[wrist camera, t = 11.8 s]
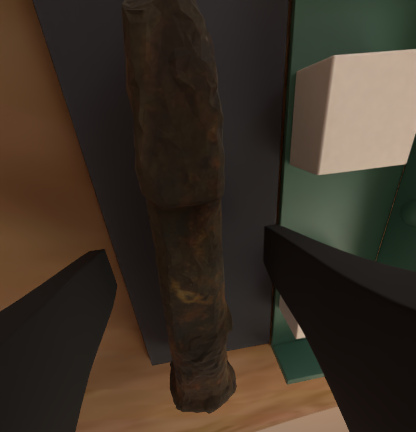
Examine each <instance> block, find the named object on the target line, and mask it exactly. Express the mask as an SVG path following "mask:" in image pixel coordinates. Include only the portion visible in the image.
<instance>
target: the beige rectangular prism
mask: <svg viewBox="0 0 416 432" xmlns="http://www.w3.org/2000/svg"><path fill="white" fill-rule="evenodd" d="M415 134H416V49H409V50H396V51H382V52H369V53H356V54H342V55H333V56H331V57H329V58H326V59H324V60H322V61H319V62H317V63H315V64H312V65H310V66H308V67H305V68H303V69H301V70H299V71H297V73H296V84H295V98H294V111H293V125H292V138H291V151H290V165H292V166H294V167H297V168H300V169H302V170H305V171H308V172H310V173H313V174H316V175H325V174H333V173H341V172H349V171H357V170H364V169H372V168H380V167H388V166H396V165H404V164H406V163H407V160H408V156H409V153H410V150H411V147H412V143H413V140H414V137H415Z"/></svg>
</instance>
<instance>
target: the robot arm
mask: <svg viewBox="0 0 416 432" xmlns="http://www.w3.org/2000/svg"><path fill="white" fill-rule="evenodd" d="M263 263H264V265H265V268H266V270H267V272H268V274H269V276H270V279H271V281H272V282H273V284H274V286H275V287H276V289H277V291H278V292H279V294H280V296H281V297H282V299H283V300H284V302H285V304H286V305H287V307H288V308H289V310H290V312H291V313H292V315H293V316H294V318H295V320H296V321H297V323H298V324H299V326H300V328H301V330H302V331H303V333H304V335H305V337H306V339H307V341H308V343H309V345H310V347H311V349H312V351H313V353H314V355H315V357H316V359H317V361H318V363H319V366H320V368H321V370H322V372H323V374H324V376H325V378H326V380H327V382H328V385H329V387H330V389H331V391H332V393H333V396H334V398H335V400H336V402H337V405H338V407H339V409H340V411H341V413H342V416H343V418H344V420H345V422H346V425H347V427H348V429H349V432H416V272H415V271H411V270H407V269H402V268H398V267H394V266H390V265H387V264H383V263H379V262H376V261H373V260H369V259H366V258H363V257H360V256H356V255H353V254H350V253H347V252H345V251H342V250H339V249H337V248H334V247H331V246H329V245H326V244H324V243H321V242H319V241H316V240H314V239H312V238H309V237H307V236H305V235H302V234H300V233H298V232H295V231H293V230H291V229H288V228H286V227H283V226H281V225H277V224H276V225H269V226H264V252H263ZM116 289H117V283H116V280H115V277H114V274H113V272H112V269H111V266H110V263H109V260H108V257H107V254H106V252H105V249H101V250H94V251H89V252H88V253H86V254H84V255H83V256H81V257H80V258H78V259H77V260H75V261H74V262H72V263H71V264H70V265H68V266H67V267H65V268H64V269H63V270H61V271H60V272H58V273H57V274H56V275H54V276H53V277H51V278H50V279H49V280H47V281H46V282H44V283H43V284H41V285H40V286H38V287H37V288H36V289H34V290H33V291H31V292H30V293H28V294H27V295H25V296H24V297H22V298H21V299H19V300H18V301H16V302H15V303H13V304H12V305H10V306H8V307H7V308H5V309H4V310H2V311H0V432H75V431H76V426H77V422H78V418H79V413H80V409H81V405H82V401H83V397H84V393H85V389H86V386H87V382H88V378H89V374H90V371H91V368H92V365H93V362H94V359H95V356H96V353H97V350H98V348H99V345H100V342H101V339H102V336H103V334H104V331H105V328H106V325H107V322H108V320H109V317H110V314H111V311H112V308H113V304H114V300H115V295H116Z"/></svg>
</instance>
